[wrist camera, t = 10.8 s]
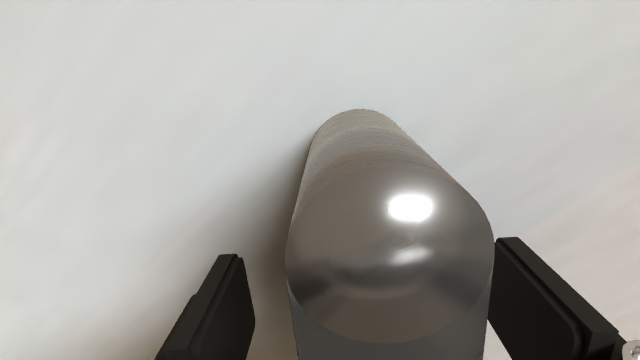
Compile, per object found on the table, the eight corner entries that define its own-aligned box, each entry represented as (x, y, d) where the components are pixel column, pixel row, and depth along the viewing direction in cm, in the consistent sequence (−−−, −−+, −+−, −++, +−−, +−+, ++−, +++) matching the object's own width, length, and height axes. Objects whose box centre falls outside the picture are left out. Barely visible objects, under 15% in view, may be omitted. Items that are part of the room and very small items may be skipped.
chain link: (409, 104, 10) (509, 159, 4) (407, 367, 14) (459, 576, 8) (303, 113, 10) (268, 177, 5) (330, 370, 14) (330, 576, 9)
